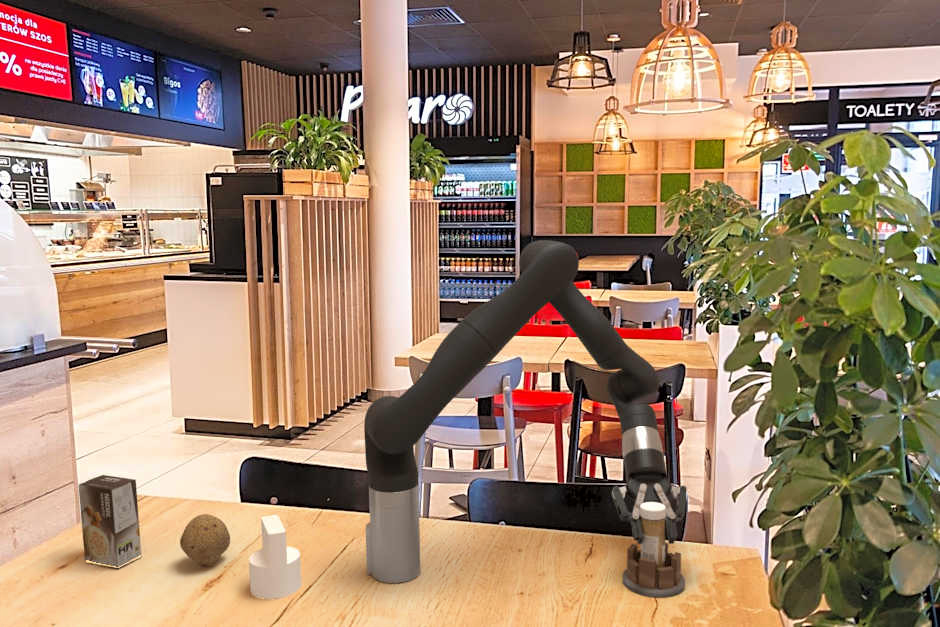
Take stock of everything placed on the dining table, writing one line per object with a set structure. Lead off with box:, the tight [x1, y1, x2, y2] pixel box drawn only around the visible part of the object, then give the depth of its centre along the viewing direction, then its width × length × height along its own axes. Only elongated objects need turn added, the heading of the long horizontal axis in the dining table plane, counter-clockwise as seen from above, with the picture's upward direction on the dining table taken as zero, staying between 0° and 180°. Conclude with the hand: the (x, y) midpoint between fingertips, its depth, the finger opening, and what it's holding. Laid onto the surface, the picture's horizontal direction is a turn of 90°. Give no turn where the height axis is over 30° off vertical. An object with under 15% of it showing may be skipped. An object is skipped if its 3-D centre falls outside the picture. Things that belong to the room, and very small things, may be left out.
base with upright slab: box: [248, 514, 302, 600], centre depth 140 cm, size 9×9×12 cm
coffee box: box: [78, 474, 142, 567], centre depth 153 cm, size 9×6×16 cm
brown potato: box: [179, 513, 231, 566], centre depth 151 cm, size 9×9×10 cm
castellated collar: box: [622, 542, 686, 599], centre depth 141 cm, size 11×11×6 cm
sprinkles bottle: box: [639, 502, 666, 582], centre depth 140 cm, size 5×5×13 cm
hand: (656, 541), depth 138 cm, fingers open, 5 cm apart
